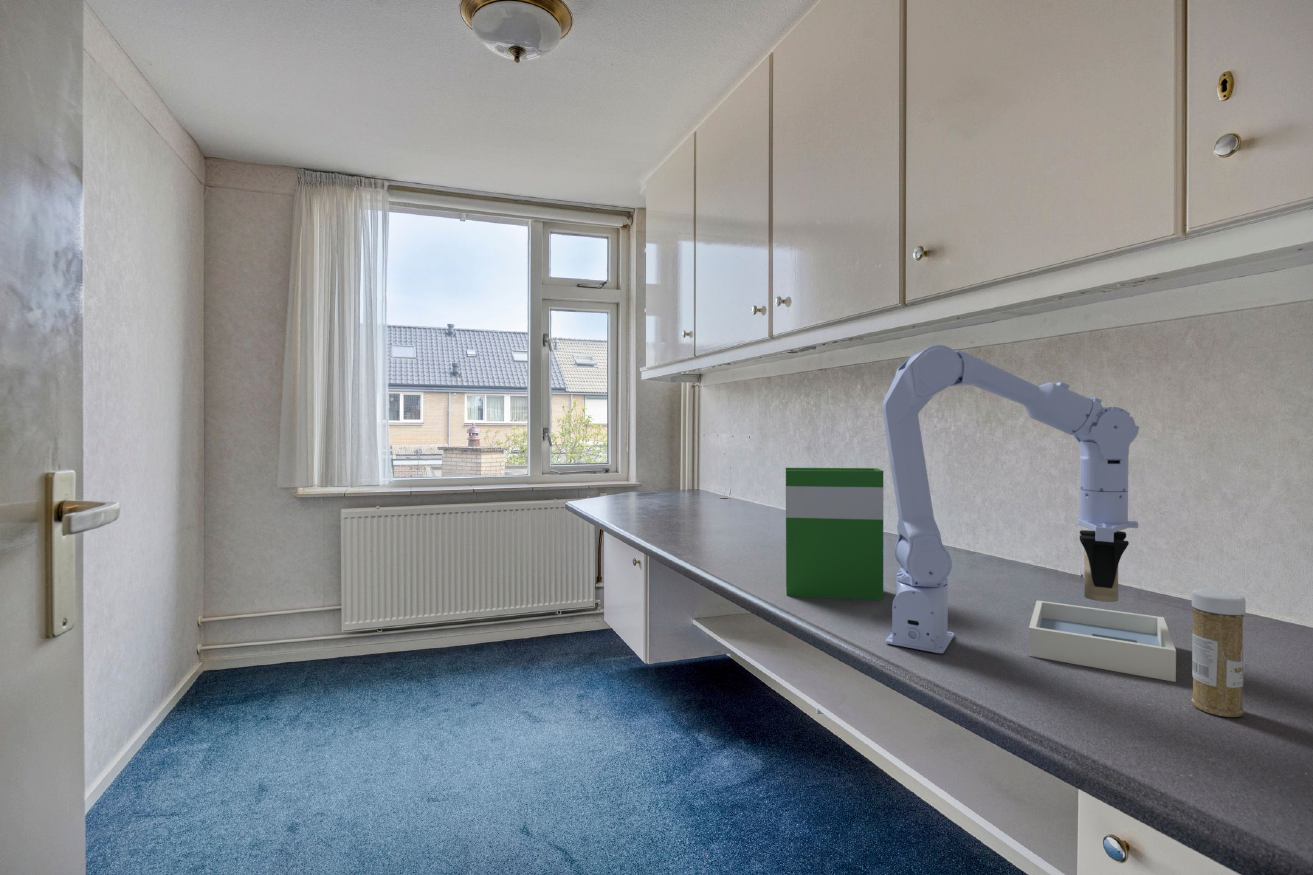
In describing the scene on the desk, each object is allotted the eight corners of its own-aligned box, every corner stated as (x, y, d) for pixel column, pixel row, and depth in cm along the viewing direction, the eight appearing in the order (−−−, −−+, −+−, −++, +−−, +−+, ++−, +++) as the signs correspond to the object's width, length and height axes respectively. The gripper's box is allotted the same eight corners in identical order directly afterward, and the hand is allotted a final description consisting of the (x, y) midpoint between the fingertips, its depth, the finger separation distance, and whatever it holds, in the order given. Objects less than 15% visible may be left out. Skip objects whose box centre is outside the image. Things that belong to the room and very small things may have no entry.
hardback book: (786, 595, 119) (786, 470, 119) (786, 585, 127) (785, 467, 126) (883, 599, 116) (883, 471, 115) (877, 589, 123) (877, 468, 123)
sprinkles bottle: (1252, 721, 68) (1254, 600, 68) (1200, 714, 70) (1202, 596, 70) (1231, 703, 73) (1233, 589, 72) (1183, 697, 74) (1184, 585, 74)
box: (1175, 681, 79) (1176, 650, 79) (1028, 655, 88) (1028, 627, 88) (1163, 644, 92) (1163, 617, 92) (1036, 624, 101) (1036, 600, 101)
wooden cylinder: (1116, 603, 88) (1117, 547, 88) (1082, 598, 90) (1082, 543, 90) (1119, 597, 91) (1119, 542, 91) (1086, 592, 93) (1086, 539, 93)
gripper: (1142, 496, 82) (1141, 599, 82) (1134, 486, 94) (1133, 576, 94) (1077, 493, 86) (1076, 591, 86) (1078, 484, 98) (1077, 570, 98)
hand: (1102, 583), depth 90 cm, fingers closed on wooden cylinder, 4 cm apart
